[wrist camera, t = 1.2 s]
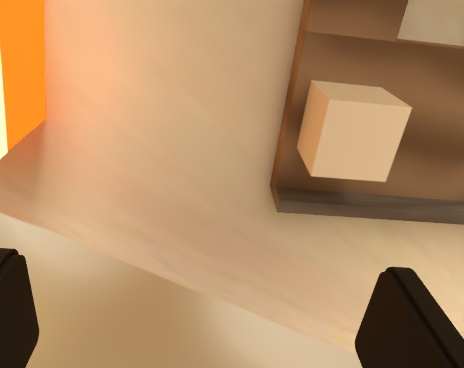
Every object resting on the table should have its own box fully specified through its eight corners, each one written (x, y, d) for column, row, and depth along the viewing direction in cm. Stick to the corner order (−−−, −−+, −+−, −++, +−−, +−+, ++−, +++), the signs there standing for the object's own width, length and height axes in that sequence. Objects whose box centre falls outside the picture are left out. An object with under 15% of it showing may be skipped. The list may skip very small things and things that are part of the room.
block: (311, 80, 25) (329, 99, 21) (381, 87, 26) (412, 107, 22) (296, 147, 27) (310, 176, 24) (361, 153, 28) (385, 182, 24)
